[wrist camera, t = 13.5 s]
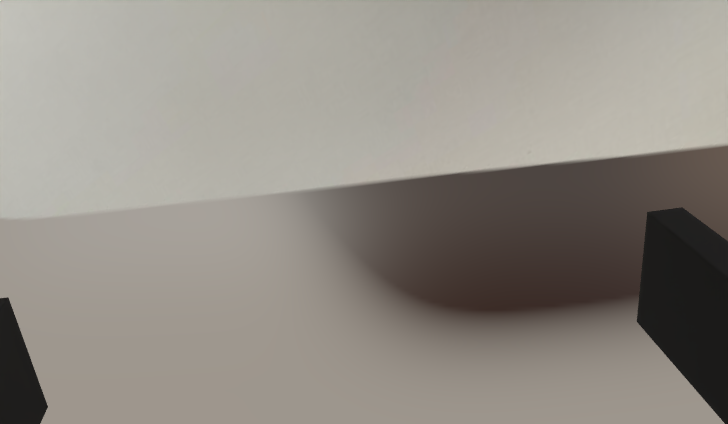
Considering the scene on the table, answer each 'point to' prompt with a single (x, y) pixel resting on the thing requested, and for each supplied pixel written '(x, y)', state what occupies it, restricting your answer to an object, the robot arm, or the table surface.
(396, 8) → the table surface
